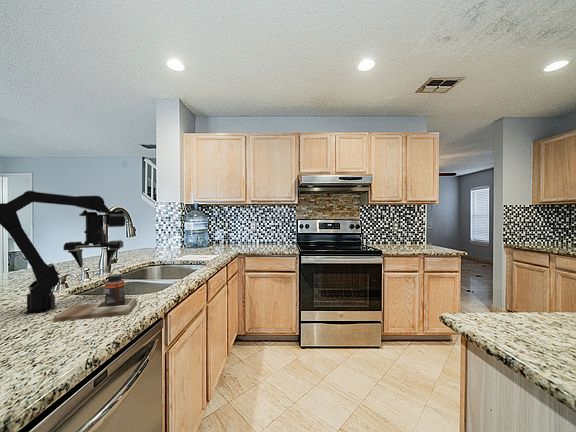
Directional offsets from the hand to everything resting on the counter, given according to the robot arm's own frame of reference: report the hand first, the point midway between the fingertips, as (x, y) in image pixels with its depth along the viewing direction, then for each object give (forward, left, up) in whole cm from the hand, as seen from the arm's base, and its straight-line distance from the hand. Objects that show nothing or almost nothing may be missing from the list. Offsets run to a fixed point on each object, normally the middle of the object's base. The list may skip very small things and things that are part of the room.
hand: (94, 267), depth 109 cm
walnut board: (+6, -16, -13) cm, 22 cm away
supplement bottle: (+11, -16, -12) cm, 23 cm away
